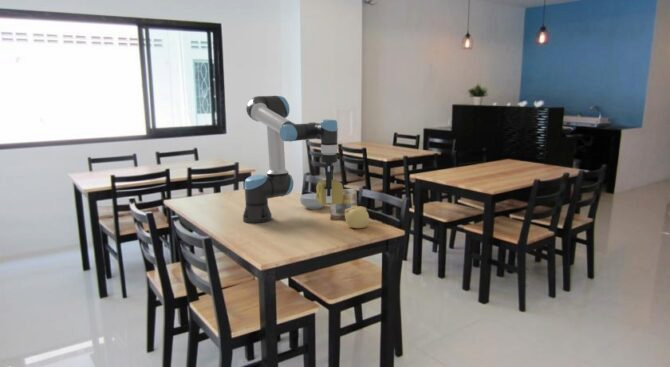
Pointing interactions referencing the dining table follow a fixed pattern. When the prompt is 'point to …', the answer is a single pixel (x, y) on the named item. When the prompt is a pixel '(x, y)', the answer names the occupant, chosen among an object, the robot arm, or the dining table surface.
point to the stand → (344, 204)
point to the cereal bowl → (310, 201)
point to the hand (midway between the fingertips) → (329, 199)
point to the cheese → (336, 192)
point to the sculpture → (357, 217)
